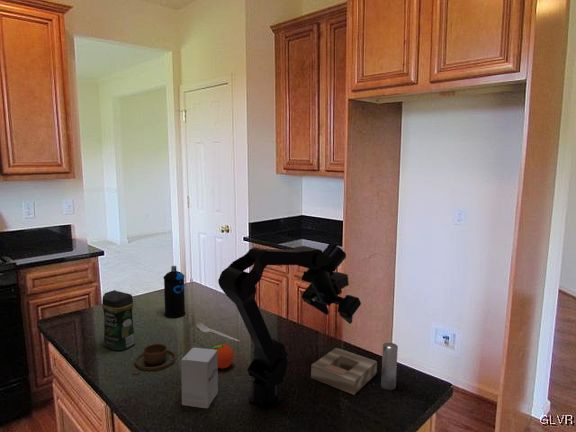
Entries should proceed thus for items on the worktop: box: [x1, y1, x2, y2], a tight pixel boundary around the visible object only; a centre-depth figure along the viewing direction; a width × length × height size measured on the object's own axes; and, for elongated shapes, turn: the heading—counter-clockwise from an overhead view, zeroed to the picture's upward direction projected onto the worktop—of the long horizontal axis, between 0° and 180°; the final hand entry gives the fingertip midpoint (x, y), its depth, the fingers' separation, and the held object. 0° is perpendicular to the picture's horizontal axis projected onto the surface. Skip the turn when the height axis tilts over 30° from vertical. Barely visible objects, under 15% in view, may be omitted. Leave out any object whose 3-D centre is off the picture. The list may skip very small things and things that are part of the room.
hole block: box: [310, 347, 378, 396], centre depth 121 cm, size 14×14×4 cm
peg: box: [380, 342, 399, 391], centre depth 116 cm, size 4×4×12 cm
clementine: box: [210, 343, 235, 369], centre depth 125 cm, size 8×7×7 cm
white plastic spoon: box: [196, 322, 240, 342], centre depth 149 cm, size 3×20×2 cm, turn 56°
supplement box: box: [180, 347, 219, 409], centre depth 108 cm, size 7×7×13 cm
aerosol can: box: [162, 265, 186, 319], centre depth 165 cm, size 8×8×20 cm
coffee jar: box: [101, 289, 136, 352], centre depth 138 cm, size 10×8×19 cm
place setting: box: [129, 343, 176, 376], centre depth 126 cm, size 18×20×6 cm
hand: (339, 318), depth 127 cm, fingers open, 9 cm apart
